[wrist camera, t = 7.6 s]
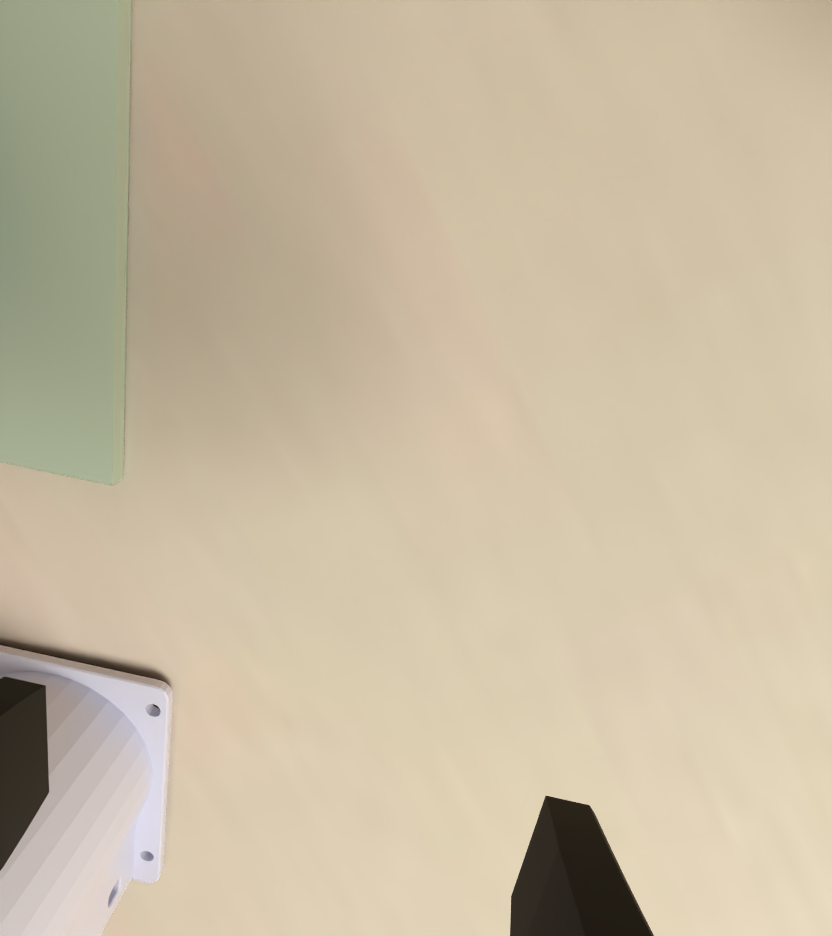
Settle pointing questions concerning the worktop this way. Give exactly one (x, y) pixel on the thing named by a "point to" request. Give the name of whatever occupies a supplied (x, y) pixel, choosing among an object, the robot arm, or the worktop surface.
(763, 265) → the worktop surface
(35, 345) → the baseplate
